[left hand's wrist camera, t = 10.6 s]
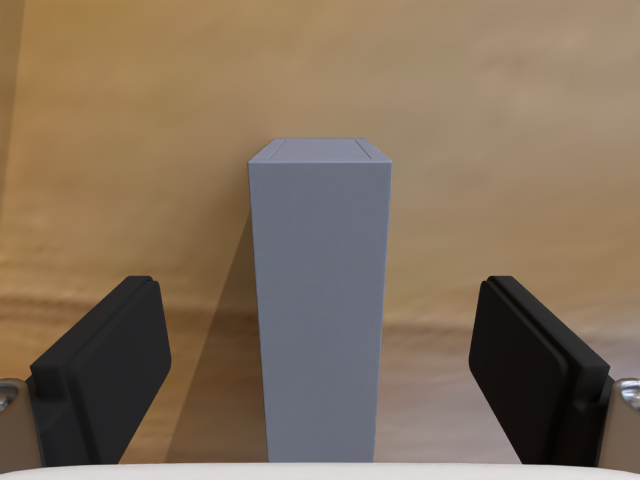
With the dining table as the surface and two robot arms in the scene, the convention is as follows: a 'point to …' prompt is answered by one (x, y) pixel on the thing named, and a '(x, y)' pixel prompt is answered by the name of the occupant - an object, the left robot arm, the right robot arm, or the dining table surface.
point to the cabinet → (320, 294)
